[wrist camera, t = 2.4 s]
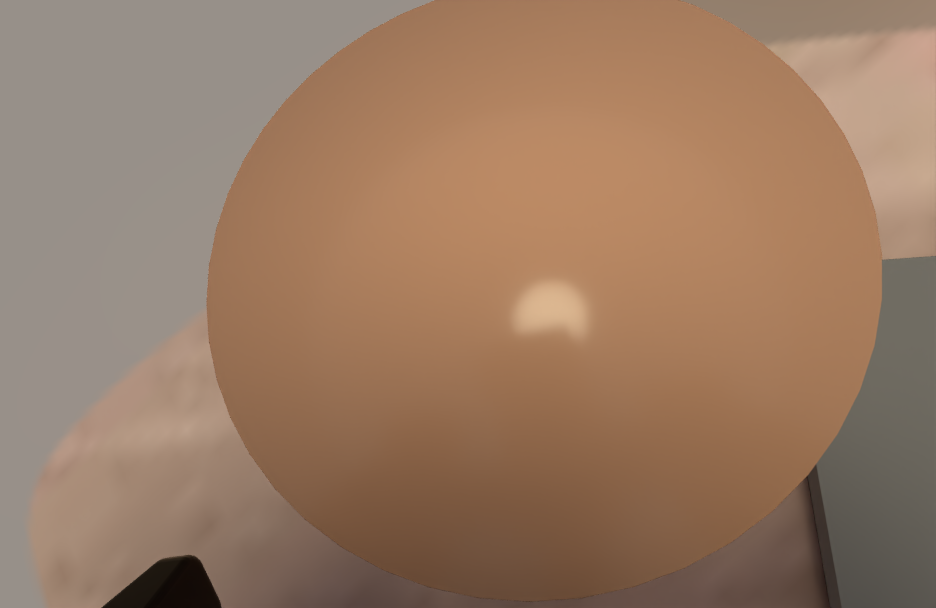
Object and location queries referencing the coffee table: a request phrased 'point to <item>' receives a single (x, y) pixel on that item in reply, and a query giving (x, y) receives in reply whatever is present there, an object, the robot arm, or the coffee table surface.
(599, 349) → the tan domed cylinder
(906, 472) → the slate mat
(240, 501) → the coffee table surface
